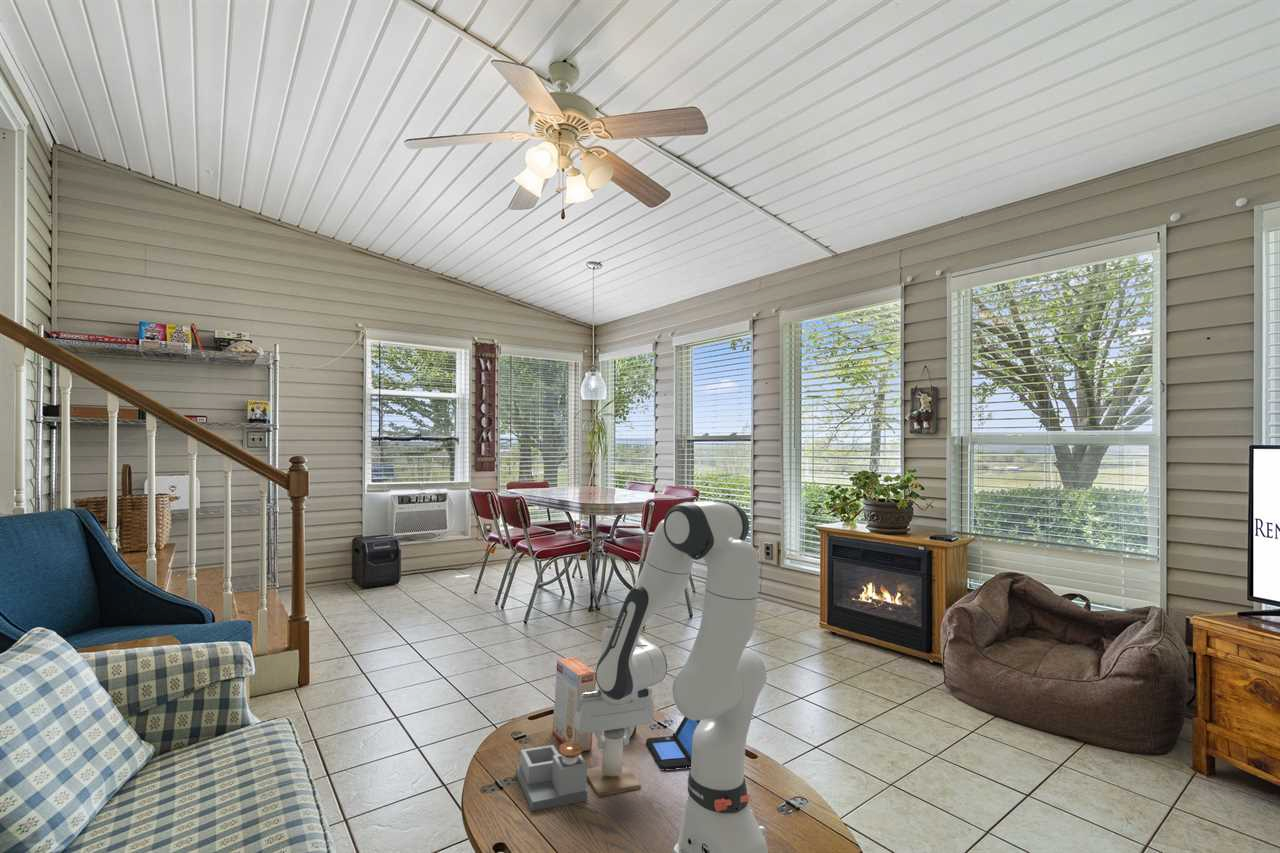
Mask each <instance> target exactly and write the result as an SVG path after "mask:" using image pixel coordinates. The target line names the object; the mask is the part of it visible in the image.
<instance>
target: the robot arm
mask: <svg viewBox="0 0 1280 853" xmlns="http://www.w3.org/2000/svg"><path fill="white" fill-rule="evenodd" d="M749 532H750V521H749V517H748V515H747V513H746V512H745V510H744V509H743V508H742V507H740V506H738V505H737V504H734V503H732V502H728V501H721V502H719V501H711V500H698V501H683V502H681V503H678V504H676V505H674V506H672V507H670V509H669V510H668V511H667V512H666V514H665V517H664V518H663V519H662V520H660V522H658V524H657V526H656V527H655V530H654V532H653V535H652V537H651V539H650V542H649V545H648V548H647V552H646V554H645V559H644V563H643V565H642V569H641V571H640V573H639V575H638V578H637V580H636V582H635V583H634V585H633V587H632V588H631V589H630V590H629V592H628V594H627V595H626V597H625V599H624V602H623V604H622V607H621V609H620V612H619V614H618V617H617V618H616V622H615V623H612V624H609V625H608V626H606V627H605V628H604V630H603V633H602V639H601V645H600V658H599V659H598V662H597V663H596V664H597V665H596V669H595V672H596V683H597V687H598V690H595V691H594V692H589V693H588V692H586V693H582V695H580V696H579V697H578V698H577V700H576V716H575V723H574V726H575V728H576V730H577V731H578V732H579V733H580V734H588V733H592V734H594V736H595V737H596V739H597V747H598V749H599V750H603V748H605V747H606V746H605V745H606V741H605V740H604V739H603V738H604V737H601V736H603V732H604V731H607V730H614V729H620V728H627V730H626V732H625V734H624V741H623V746H626V745H629V744H630V738H631V736H633V735H632V733H633V731H634V726H637V727H638V726H639V727H641V726H646V725H650V724H652V722H653V721H654V717H655V705H654V700H653V697H652V695H653V689H652V688H651V687H652V686H656V685H657V684H659V683H661V682H662V681H663V680H664V679H665V676H666V675H667V669H668V663H667V662H668V661H667V657H666V654H665V652H664V651H663V649H661V648H660V646H658V645H657V644H654V643H651V642H650V641H648V640H647V639H646V638H644V636H643V635H641V634H642V632H643V628H644V627H645V625H646V624H647V623H648V621H649V619H651V618H652V617H653V616H654V615H655V614H657V613H658V612H660V611H661V610H663V609H664V608H666V607H668V606H669V605H671V604H674V602H676V601H678V600H679V599H680V598H681V597H682V596H683V595H684V592H685V590H686V589H687V586H688V584H689V581H690V578H691V572H692V569H693V565H694V561H698V560H701V559H702V558H703V560H704V561H705V563H706V568H707V569H706V572H707V573H706V580H705V589H704V595H703V596H704V598H703V606H702V611H701V612H702V613H701V618H700V625H699V628H698V632H697V633H696V634H697V635H696V637H695V640H694V642H693V645H692V648H691V650H690V653H689V655H688V657H687V660H686V662H685V663H684V665H683V666H682V668H681V670H680V671H679V672H678V673H677V675H676V676H675V678H674V680H673V683H672V691H671V692H672V698H673V701H674V703H675V706H676V708H677V709H678V711H679V712H680V713H681V714H682V715H683V717H686V718H688V719H690V720H700V722H699V724H698V725H697V727H696V729H695V731H694V734H693V738H692V758H691V768H689V772H688V777H687V792H688V796H687V799H686V802H685V804H684V806H683V808H682V812H681V819H680V825H679V832H678V833H679V834H678V840H677V842H676V843H675V845H673V850H672V853H769V851H768V843H767V841H766V838H767V832H766V828H765V827H764V825H759V823H758V822H757V819H756V818H755V816H754V811H753V809H752V808H751V806H750V805H749V802H750V801H751V798H750V797H751V796H752V795H751V794H748V787H747V786H748V785H747V783H746V777H745V757H746V746H747V745H746V744H747V738H748V734H749V729H750V726H751V723H752V718H753V714H754V711H755V707H756V704H757V701H758V698H759V697H760V694H761V692H762V690H763V689H764V687H765V684H766V683H767V675H768V674H767V668H766V665H765V664H764V661H763V660H762V658H761V657H760V656H759V655H758V653H756V652H754V651H753V650H751V649H748V648H747V649H746V646H747V644H748V643H749V641H750V640H751V638H752V637H753V635H754V630H755V625H756V624H755V622H756V615H757V614H756V613H757V604H758V596H759V595H758V594H759V582H760V581H759V580H760V579H759V578H760V576H759V575H760V574H759V559H758V558H759V556H758V553H757V550H756V548H755V547H754V546H753V545H752V544H751V543H749V542H747V541H746V539H747V537H748V535H749Z"/></svg>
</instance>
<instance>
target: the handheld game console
mask: <svg viewBox="0 0 1280 853" xmlns="http://www.w3.org/2000/svg"><path fill="white" fill-rule="evenodd" d="M699 722H700V720H690V719H688V718H686V717H685V716H683V719H682V721H681V722H680V724H679V725H678V727H677V729H676V731H675V732H674V733H672V735H671V736H669V735H668V736H657V737H648V738H646V739H645V740H646V741H645V743H646V745H647V748H648V749H649V751H650V753H651V755H652V756H654V757H653V759H654V758H655V759H654V761H655V762H656V764H657V763H658V764H657V765H659V766H658V767H659V769H660V768H661V769H664V770H663V771H665V770H666V769H676V768H686V767H687V768H688V769H690V768H689V767H691V758H692V738H693V734H694V731H695V729H696V727H697V725H698V724H699ZM661 769H660V770H661ZM666 771H667V770H666Z"/></svg>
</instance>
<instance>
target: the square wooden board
mask: <svg viewBox="0 0 1280 853" xmlns="http://www.w3.org/2000/svg"><path fill="white" fill-rule="evenodd" d="M586 781H588V783H589V784H590V786H591V788H592V790H593V791H594V792H595V794H596V795H597V796H598V797H602V796H608V795H613V794H619V793H623V792H627V791H632V790H639V789H641V787H642V784H641V783H640V782H639V779H637V778H636V777H635V775H634V774H633V773H632V771H631V770H630V769H629V768H628V767H627V765H626V764H625V762H623V761H622V773H621V774H620V775H618V776H607V775H605V774H603V773H602V765H601V766H595V767H590V768H587V780H586Z"/></svg>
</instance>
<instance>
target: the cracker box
mask: <svg viewBox="0 0 1280 853" xmlns="http://www.w3.org/2000/svg"><path fill="white" fill-rule="evenodd" d="M555 675H556V676H555V690H554V691H555V692H554V704H553V706H554V707H553V722H552V733H553V734H554V736H556V738H557V739H558V740H560V742H561V743H562V744H563V743H566V742H576V743H579V744H580V745H581V746H582V752H581V753H583V752H587V751H590V750H592V745H593V744H592V743H593V733H588V734H580V733H579V732H578V731H577V730H576V728H575V726H574V723H575V716H576V700H577V698H578V697H579V696H580V695H582V693H586V692H588V693H589V692H594V691H596V683H597V681H596V670H593V669H592V668H591V667H589V666H588V665H587V664H584V663H583V662H582V661H580V660H579V659H577V658H576V657H574V656H571V657H566V658H560V659H556V673H555Z"/></svg>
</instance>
